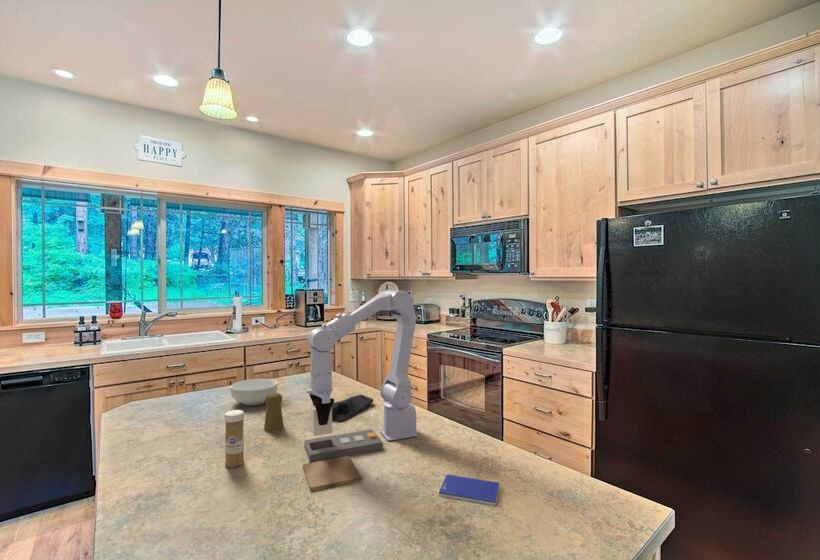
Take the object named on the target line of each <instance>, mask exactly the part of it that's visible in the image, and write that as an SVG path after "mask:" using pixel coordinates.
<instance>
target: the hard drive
mask: <svg viewBox="0 0 820 560" xmlns="http://www.w3.org/2000/svg"><path fill="white" fill-rule="evenodd" d="M499 491H500V482H497V481H491V480H487V479H486V480H484V479H479V478H473V477H467V476H459V475H455V474H445V477H444V479H443V482H442V483H441V485H440V489H439V490H438V497H444V498H449V499H450V498H451V499H457V500H462V501H469V502H472V503H473V502H475V503H479V504H484V505H485V504H486V505H490V506H497V500H498V494H499Z"/></svg>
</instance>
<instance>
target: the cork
mask: <svg viewBox="0 0 820 560" xmlns="http://www.w3.org/2000/svg"><path fill="white" fill-rule="evenodd" d="M264 403H265V405H266V410H265V419H264V426H263V431H264V432H267V433H274V432H275V433H276V432H279V431H282V430H283V429H285V425H284V418H283V413H282V405H281V404H282V403H283V396H282V394H281V393H280V392H276V393H271V394H268V395H267V396H266V398H265V402H264Z"/></svg>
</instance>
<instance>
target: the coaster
mask: <svg viewBox="0 0 820 560" xmlns="http://www.w3.org/2000/svg"><path fill="white" fill-rule="evenodd" d="M302 469H303V472H304V476H305V479H306V482H307V485H308V488H309V492H313V491H314V492H315V491H319V490H323V489H328V488H333V487H337V486H342V485H346V484H351V483H356V482H361V481H362V479H363V478H362V476H361V473H360V472H359V470H358V469H357V467H356V465H355V463H354V462H353V460H352V458H351V455H349V456H343V457H338V458H332V459H327V460H321V461H316V462H308V463H303V464H302Z"/></svg>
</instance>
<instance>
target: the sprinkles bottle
mask: <svg viewBox="0 0 820 560" xmlns="http://www.w3.org/2000/svg"><path fill="white" fill-rule="evenodd" d="M244 419H245V412H244V410H241V409H233V410H229V411H227V412H225V413H224V422H225V434H224V435H225V440H224V444H225V446H224V447H225V448H224V451H225V452H224V453H225V463H224V464H225V466H226V467H228V468H236V467H240V466H241V465H243V464H244V463H245V459H244V451H245V450H244V448H245V445H244V443H245V441H244V440H245V439H244V438H245V437H244V435H245V434H244Z"/></svg>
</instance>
